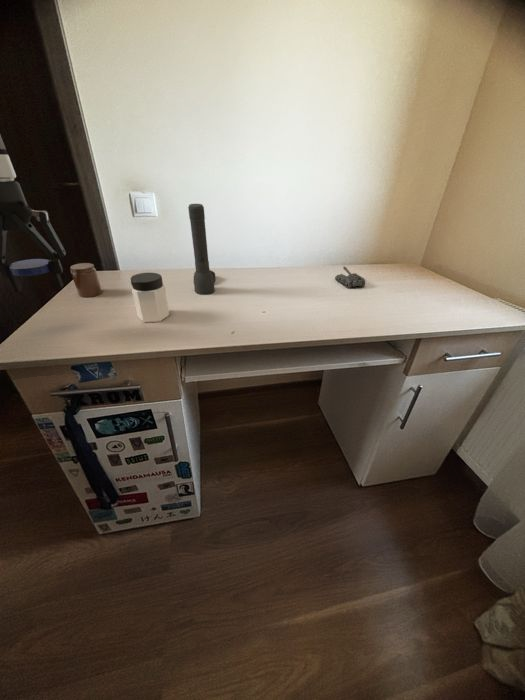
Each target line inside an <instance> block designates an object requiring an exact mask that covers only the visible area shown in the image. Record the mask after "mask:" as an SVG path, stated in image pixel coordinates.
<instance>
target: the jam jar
mask: <svg viewBox="0 0 525 700" xmlns="http://www.w3.org/2000/svg"><path fill="white" fill-rule="evenodd" d="M70 274H71V278H72V281H73V282H74V283H73V284H74V286H75V289H76V292H77V295H78V296H79V297H80V298H93V297H97V296H100V295H101V294H102V293H103V289H102V286H101V283H100V278H99V275H98V272H97V269H96V268H95V264H93V263H90V262H82V263H81V262H80V263H76V264H75V263H74V264H73V265H71V266H70Z"/></svg>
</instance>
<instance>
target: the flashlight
mask: <svg viewBox="0 0 525 700" xmlns="http://www.w3.org/2000/svg"><path fill="white" fill-rule="evenodd" d="M187 208H188V217H189V221H190V222H189V224H190V231H191V239H192V247H193V256H194V267H195V272H194V273H193V287H194V292H195V294H198V295H204V296H205V295H210V294H211V295H212V294H213V293H214V292H215V282H214V279H213V275H212V272H211V271H212V270H211V269H210V261H209V253H208V243H207V230H206V220H205V219H206V216H205V207H204V205H203V203H190V204H189V205H188V207H187ZM210 270H211V271H210Z"/></svg>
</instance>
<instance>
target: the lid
mask: <svg viewBox="0 0 525 700" xmlns="http://www.w3.org/2000/svg"><path fill="white" fill-rule="evenodd" d="M49 260H50V259H46V258H31V259H24V260H19V261H15V262H11V264H10V265H9V266H8V267H9V270H10V272H11V274H12V275H15V276H17V277H32V276H39V275H43V274H46V273H49V272H51V269H50V266H49V264H48V261H49Z"/></svg>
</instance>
